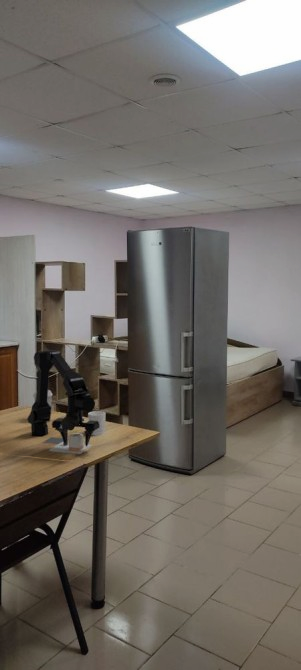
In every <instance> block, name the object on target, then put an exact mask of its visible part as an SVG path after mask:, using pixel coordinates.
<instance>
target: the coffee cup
mask: <svg viewBox="0 0 301 670" xmlns="http://www.w3.org/2000/svg"><path fill="white" fill-rule="evenodd" d="M36 392H37V390H35V391H34V393H33V394H32V395H33V398H34V402H35V401H36ZM52 397H53V393H52V391H51V390H50V389H48V397H47V402H48V404H49V406H51V407H52V401H53V399H52ZM51 418H52V415H51V416H50V421H51ZM50 421H48V422H47V423H49V422H50Z"/></svg>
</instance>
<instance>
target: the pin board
mask: <svg viewBox="0 0 301 670" xmlns="http://www.w3.org/2000/svg"><path fill="white" fill-rule="evenodd" d="M83 444H84V448H83V449H82V450H80V451H79V452H78V451H69V439H68V440H67V444H65V443H64V440H63V442H61V443H59V444H55V445H54V446H53V447H51V448H50V449H49V450H48V451H49V452H53V453H54V452H55V453H56V452H57V453H67V454H75V455H76V454H79V455H81V454H82V453H83V454H84V452H85V451H87V450H88V449H89V448H91V447H92V446H93V444H89V443H88V446H86V445H85V443H83Z"/></svg>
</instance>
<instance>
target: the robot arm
mask: <svg viewBox="0 0 301 670" xmlns="http://www.w3.org/2000/svg"><path fill="white" fill-rule="evenodd" d="M33 361H34V362H33V364H34V367H36V369H37V375H36V376H37V379H36V380H37V381H36V391H37V392H36V401H35V400H34V403H33V404H32V406H31V409H30V410H31V411H30V412H29V415H28V416H27V423H28V424H30V425H31V428H30V429H31V435H29V437H37V438H43V437H45V436H47V435H48V434H49V428H48V427H49V426H48V423H49V422H51V420H50V416H51V417H52V405H51V406H49V404H48V402H47V397H48V390H49V379H50V371H51V369H52V368H53V367H54V368H55V369H56V370H57V372H58V373H59V375H60V376H61V377H62V385H63V387H64V389H65V391H66V392H65V394H64V395H65V396H67V410H66V413H65V417H63V418H61V417H58V418H56V419H54V420H52V422H51V428H53V429H54V430H55V431H58V432H59V433H60V436H61V438H63V440H64V443H65V444H67V440H68V441H69V435H68V432H69V431H73V430H74V429H75V428H84V431H83V432H84V435H85V437H84V438H85V439H84V440H85V441H84V442H85V443H84V444H85V445H86V446H88V444H89V442H90V440H91V438H92V436H93V435H92V433H93V431H95V430H96V429H98V428H99V422H98V421H92V420H90V421H87V422H84V421H85V418H83V413H84V412H87V413H89V412H93V411H94V409H95V406H96V401H95V399H94V398H93V397H91V394H90V392H89V387H88V386H87V384H86V382H85V379H84V377H83V376H82V375H80V373H79V372H76V371H74V370H73V369H72V368H71V366H70V365H69V364H68V362H67V361H66V359H65V358H64V357H63V355H62V353H61V351H60V350H58V349H55V350H50V349H48V350H39V351H36V352H35V353H34V355H33ZM48 421H49V422H48Z"/></svg>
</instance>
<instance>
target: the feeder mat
mask: <svg viewBox="0 0 301 670" xmlns="http://www.w3.org/2000/svg"><path fill="white" fill-rule="evenodd" d="M61 442H63V438H62V437H54V436H51V437H49V438H47V439H46V440H44V441H43V442H42V444H51V445H52V444H53V445H58V444H59V443H61Z"/></svg>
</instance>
